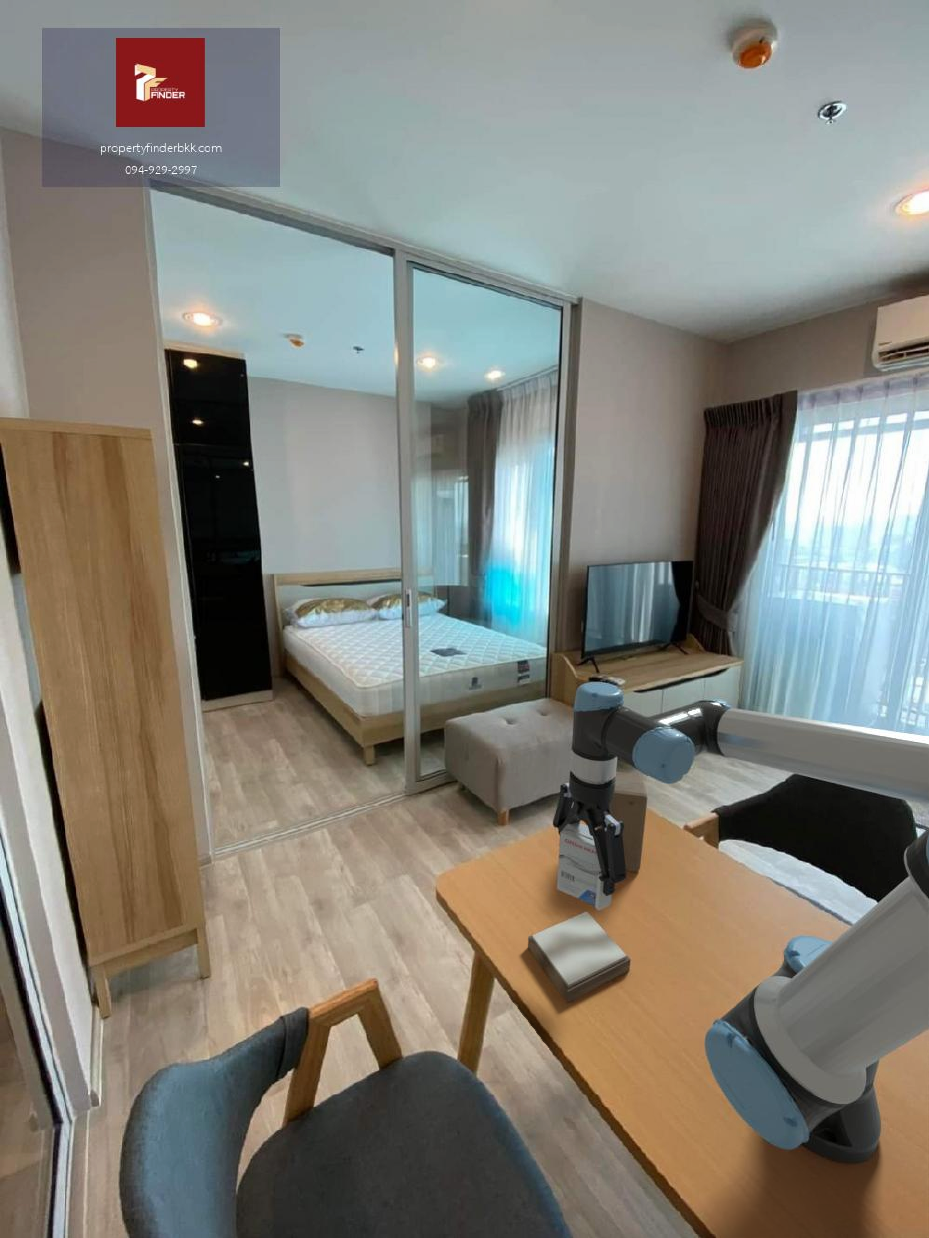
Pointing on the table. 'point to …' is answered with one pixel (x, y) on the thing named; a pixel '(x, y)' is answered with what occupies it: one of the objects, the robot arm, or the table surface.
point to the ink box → (578, 863)
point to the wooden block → (630, 815)
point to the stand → (578, 955)
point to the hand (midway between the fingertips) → (583, 885)
